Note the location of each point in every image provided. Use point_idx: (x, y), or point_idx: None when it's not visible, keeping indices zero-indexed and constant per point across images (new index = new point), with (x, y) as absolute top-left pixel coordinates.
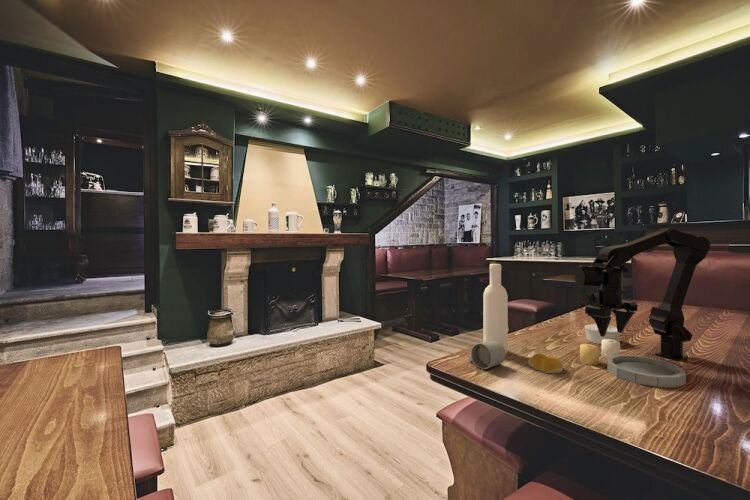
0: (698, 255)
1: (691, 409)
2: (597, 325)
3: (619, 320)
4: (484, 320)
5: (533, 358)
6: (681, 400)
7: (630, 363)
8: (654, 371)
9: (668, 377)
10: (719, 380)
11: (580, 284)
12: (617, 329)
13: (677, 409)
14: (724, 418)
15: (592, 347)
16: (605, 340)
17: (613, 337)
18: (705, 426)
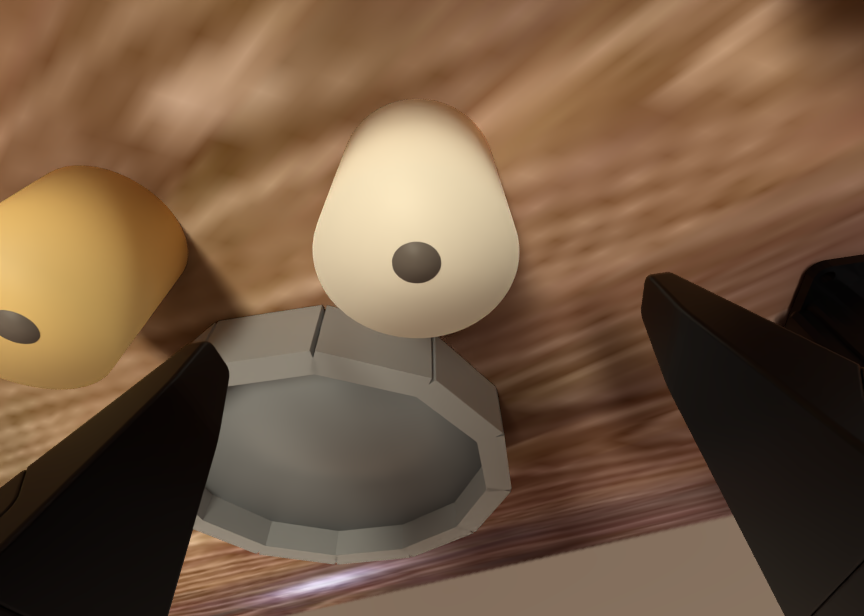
0: None
1: (236, 579)
2: (21, 491)
3: (787, 468)
4: None
5: None
6: (259, 558)
7: (347, 393)
8: (367, 477)
9: (302, 558)
10: (582, 518)
11: None
12: (663, 299)
13: (193, 575)
14: (278, 602)
15: (36, 356)
16: (382, 216)
17: None
18: (192, 608)
